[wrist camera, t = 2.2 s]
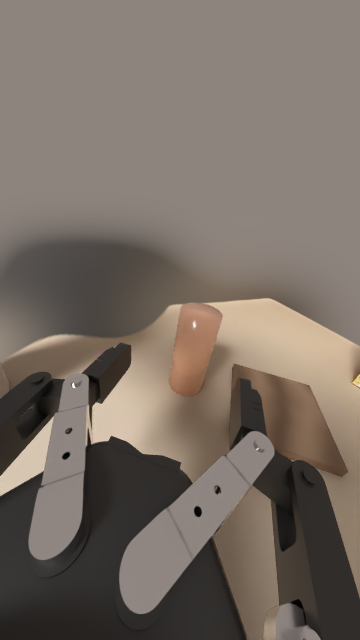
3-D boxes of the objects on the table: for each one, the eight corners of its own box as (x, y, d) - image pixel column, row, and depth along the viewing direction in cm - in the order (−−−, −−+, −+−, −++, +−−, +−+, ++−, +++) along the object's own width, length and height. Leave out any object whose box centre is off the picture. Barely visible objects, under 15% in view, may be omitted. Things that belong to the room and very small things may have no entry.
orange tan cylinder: (164, 389, 28) (175, 315, 22) (174, 365, 33) (186, 299, 27) (198, 400, 28) (220, 327, 21) (204, 375, 32) (223, 308, 26)
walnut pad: (230, 436, 24) (232, 431, 23) (232, 368, 35) (234, 363, 34) (342, 476, 21) (348, 471, 21) (306, 390, 33) (309, 385, 32)
